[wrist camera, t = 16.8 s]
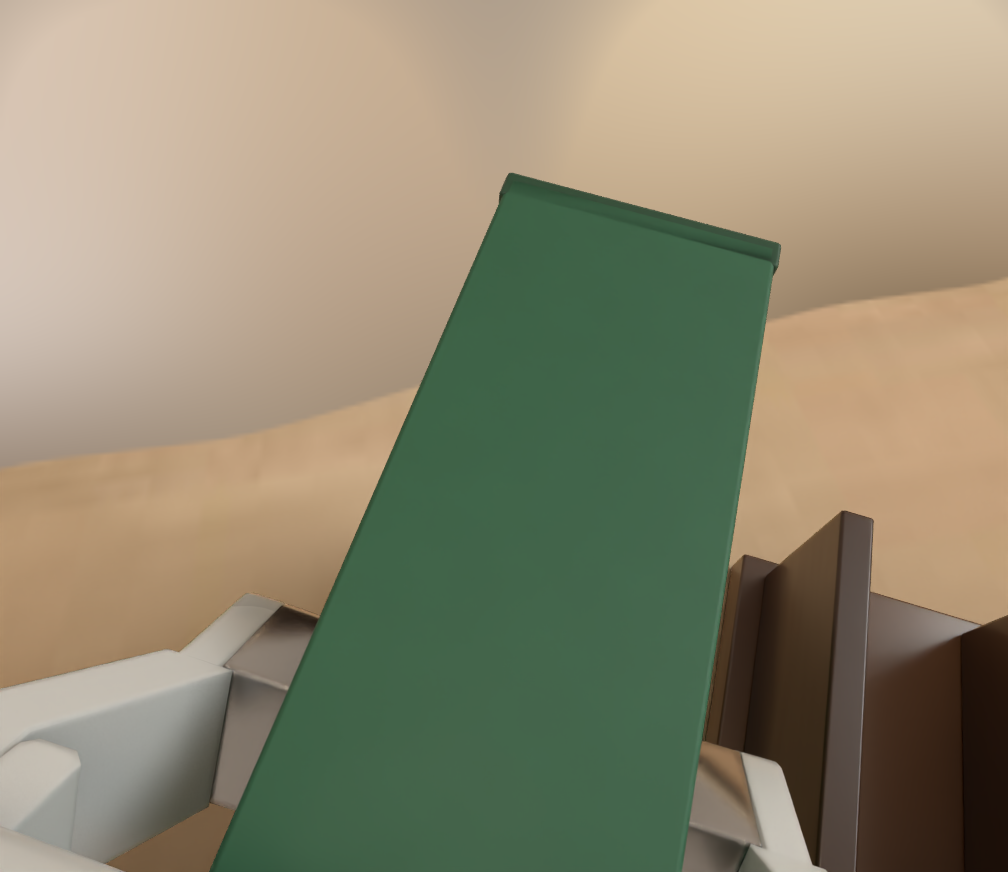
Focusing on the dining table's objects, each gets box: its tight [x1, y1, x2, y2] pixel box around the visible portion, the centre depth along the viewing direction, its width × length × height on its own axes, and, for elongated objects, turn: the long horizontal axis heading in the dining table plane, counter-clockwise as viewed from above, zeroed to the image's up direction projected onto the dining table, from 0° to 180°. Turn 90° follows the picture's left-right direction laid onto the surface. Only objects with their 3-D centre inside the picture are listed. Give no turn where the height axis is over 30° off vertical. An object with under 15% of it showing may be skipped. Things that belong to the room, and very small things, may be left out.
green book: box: [209, 173, 781, 872], centre depth 14 cm, size 4×10×14 cm, turn 163°
